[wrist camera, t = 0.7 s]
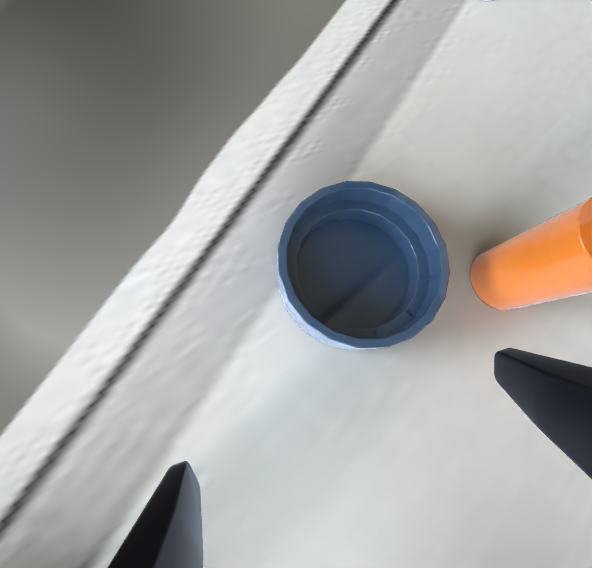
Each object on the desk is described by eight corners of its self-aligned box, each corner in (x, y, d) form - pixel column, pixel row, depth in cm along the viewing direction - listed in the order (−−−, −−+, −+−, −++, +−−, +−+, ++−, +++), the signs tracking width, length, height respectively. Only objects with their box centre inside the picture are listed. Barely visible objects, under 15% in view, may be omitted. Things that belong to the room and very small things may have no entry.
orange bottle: (539, 272, 27) (746, 204, 15) (514, 323, 26) (720, 291, 14) (485, 238, 27) (648, 146, 15) (459, 286, 26) (614, 225, 14)
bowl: (446, 258, 26) (477, 241, 22) (375, 381, 24) (396, 385, 20) (328, 182, 27) (338, 152, 23) (246, 292, 24) (242, 278, 20)
